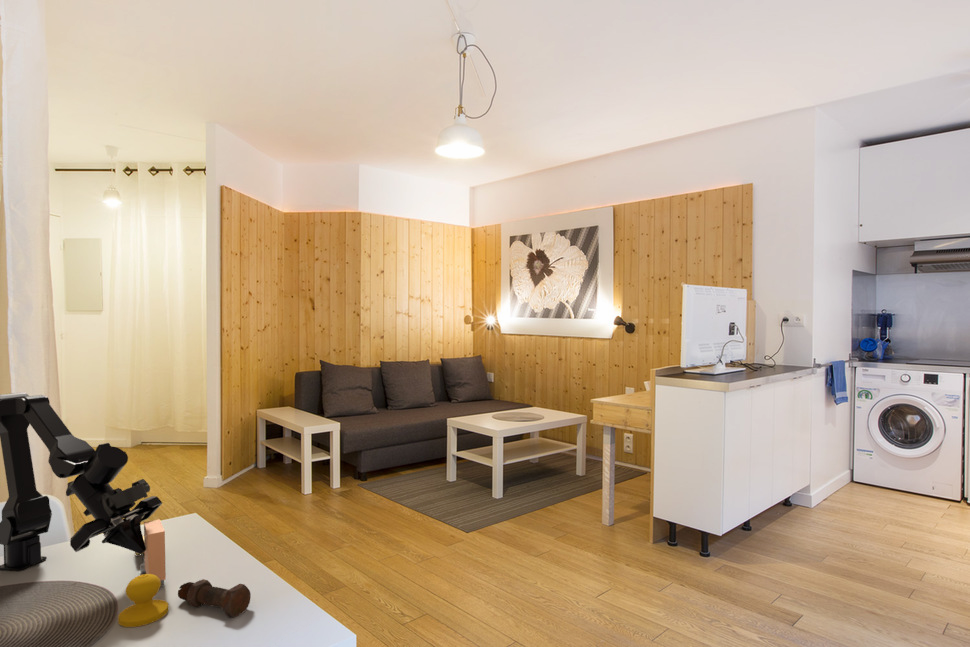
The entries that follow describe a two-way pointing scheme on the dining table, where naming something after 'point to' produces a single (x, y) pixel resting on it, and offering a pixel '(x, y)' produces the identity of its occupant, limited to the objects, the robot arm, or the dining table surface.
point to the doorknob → (143, 602)
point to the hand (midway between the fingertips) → (143, 551)
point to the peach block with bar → (154, 550)
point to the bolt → (216, 596)
